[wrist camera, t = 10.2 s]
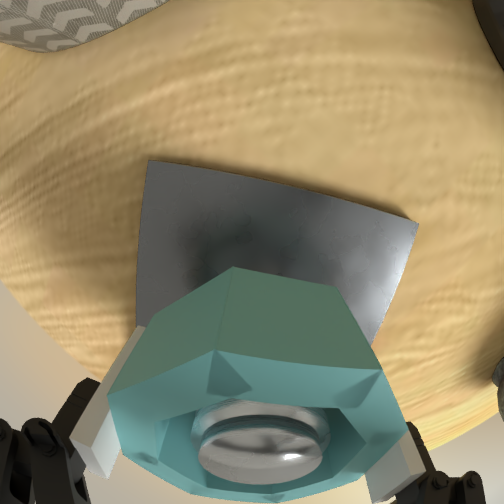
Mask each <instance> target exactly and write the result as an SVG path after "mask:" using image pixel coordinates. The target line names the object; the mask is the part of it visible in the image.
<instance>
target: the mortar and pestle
mask: <svg viewBox="0 0 504 504" xmlns="http://www.w3.org/2000/svg"><path fill="white" fill-rule="evenodd" d="M492 379H493V383H494V384H495V385H496V386H497V387H498V392H497V397H498V406H499V412H500V414H501V416H502V419H503V421H504V357H503V359H502V360H501V361H500V363H499V364H498V365H497V367H496V369H495V372H494V374H493V376H492Z"/></svg>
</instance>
